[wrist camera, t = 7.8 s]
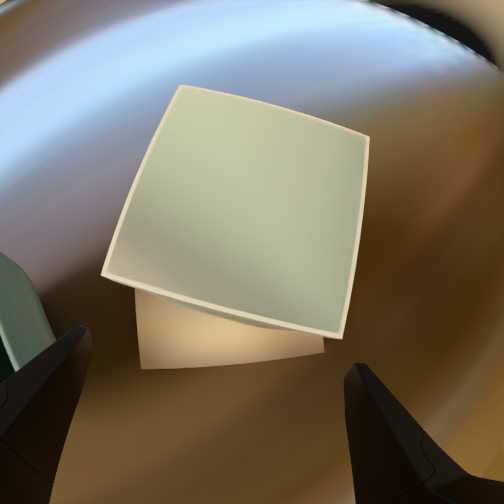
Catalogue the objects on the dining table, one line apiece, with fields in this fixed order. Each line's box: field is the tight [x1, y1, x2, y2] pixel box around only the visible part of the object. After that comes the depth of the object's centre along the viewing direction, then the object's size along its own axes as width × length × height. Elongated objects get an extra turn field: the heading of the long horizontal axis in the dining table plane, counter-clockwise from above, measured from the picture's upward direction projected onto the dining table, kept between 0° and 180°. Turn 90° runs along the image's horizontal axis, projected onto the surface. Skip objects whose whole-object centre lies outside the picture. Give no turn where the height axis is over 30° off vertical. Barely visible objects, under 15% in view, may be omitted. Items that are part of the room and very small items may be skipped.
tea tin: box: [101, 84, 370, 339], centre depth 13 cm, size 5×5×12 cm
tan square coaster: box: [135, 288, 324, 369], centre depth 20 cm, size 11×11×3 cm
